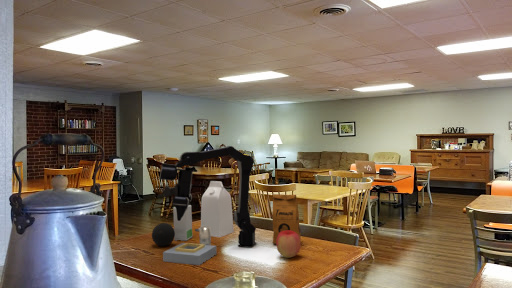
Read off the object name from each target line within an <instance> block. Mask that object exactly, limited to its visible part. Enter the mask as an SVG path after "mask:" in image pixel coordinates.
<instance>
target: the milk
mask: <svg viewBox="0 0 512 288" xmlns="http://www.w3.org/2000/svg"><path fill="white" fill-rule="evenodd" d="M200 207H201V208H200V227H202V226H210V229H211V237H213V238H214V237H215V238H221V237H225V236H227V235H229V234H232V233H235V232H234V231H235V230H234V229H235V228H234V220H233V218H234V215H233V207H232V197H231V194H230V192H228V191H227V188H225V187H224V185H223V182H222V181H216V180H210V182H209V185H208V187H207V189H206V190H205V192H204V193H203V194H202V197H201V206H200Z"/></svg>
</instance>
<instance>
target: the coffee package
mask: <svg viewBox="0 0 512 288" xmlns="http://www.w3.org/2000/svg"><path fill="white" fill-rule="evenodd" d="M297 198H298V197H297V194H281V193H279V194H278V193H277V194H273V195H272V212H271V215H272V217H271V218H272V231H273V236H272V244H274V245H276V240H277V237H278V234H279V233H280V232H281V231H286V230H290V231H294V232H296V233H297V234H298V235H299V237H300V241H301V234H302V233H301V227H300V214H299V208H298V199H297ZM301 242H302V241H301Z"/></svg>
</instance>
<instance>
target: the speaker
mask: <svg viewBox="0 0 512 288" xmlns="http://www.w3.org/2000/svg"><path fill="white" fill-rule="evenodd" d="M174 237H175V231H174V226H172V225H171V224H169V223H167V222H165V223H163V222H162V223H159V224H157V225H156V226H155V227H154V228H153V230H152V232H151V239H152V242H154V244H155V245H156V246H159V247H165V246H168V245H170V244H172V242H173V241H174Z"/></svg>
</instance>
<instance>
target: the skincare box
mask: <svg viewBox="0 0 512 288" xmlns="http://www.w3.org/2000/svg"><path fill="white" fill-rule="evenodd" d="M172 210H173V211H172V212H173V229H174V231H175V237H174V239H173V241H177V240H181V241H182V242H187V241H188V240H189V239H192V238H193V217H192V215H193V213H192V205H191V204H189V206H188V208H187V209H186V211H185V213H184V215H183V217H182V218H181V220H180V221H178V220H177V211H176V207H175V206H174V207H173V209H172ZM181 241H180V242H181Z"/></svg>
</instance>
